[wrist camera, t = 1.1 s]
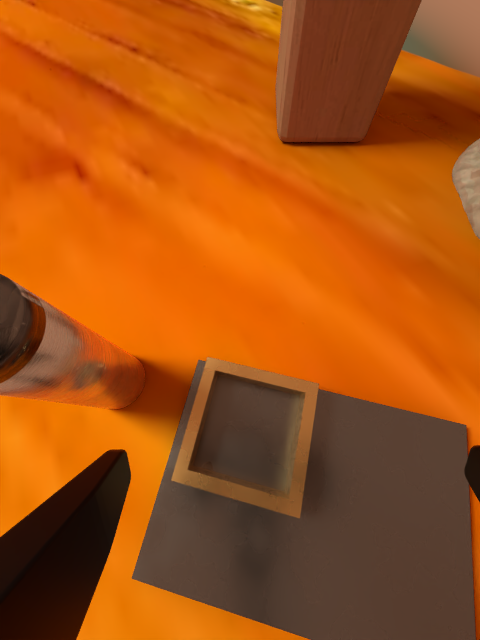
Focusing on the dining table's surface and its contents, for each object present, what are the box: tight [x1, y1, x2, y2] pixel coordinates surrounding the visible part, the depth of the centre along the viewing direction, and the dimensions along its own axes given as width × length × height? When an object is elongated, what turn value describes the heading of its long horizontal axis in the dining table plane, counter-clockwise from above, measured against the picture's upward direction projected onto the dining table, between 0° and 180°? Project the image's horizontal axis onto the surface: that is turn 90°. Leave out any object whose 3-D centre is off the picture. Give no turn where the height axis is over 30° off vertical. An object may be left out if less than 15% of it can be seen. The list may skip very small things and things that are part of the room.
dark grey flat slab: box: [132, 357, 476, 640], centre depth 18 cm, size 14×20×3 cm
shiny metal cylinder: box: [0, 274, 146, 409], centre depth 16 cm, size 4×4×13 cm
